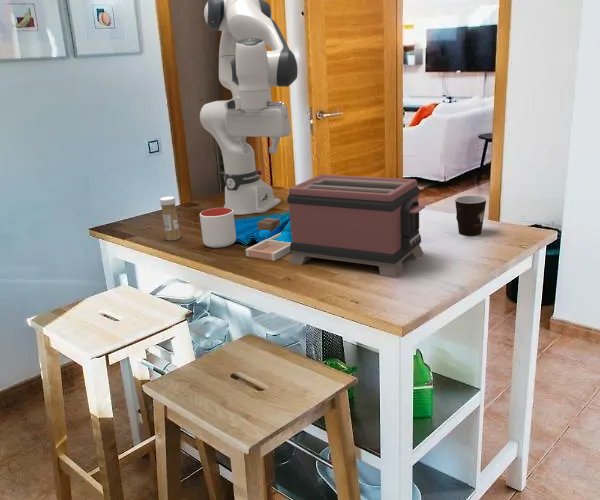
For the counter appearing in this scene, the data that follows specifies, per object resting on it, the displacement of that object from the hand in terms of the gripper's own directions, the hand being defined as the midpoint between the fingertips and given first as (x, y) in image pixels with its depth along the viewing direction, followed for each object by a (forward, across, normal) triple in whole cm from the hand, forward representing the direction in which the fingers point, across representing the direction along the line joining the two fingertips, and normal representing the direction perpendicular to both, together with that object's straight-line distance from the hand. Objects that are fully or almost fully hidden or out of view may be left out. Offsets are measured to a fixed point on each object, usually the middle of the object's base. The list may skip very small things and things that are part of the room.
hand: (259, 152), depth 167 cm
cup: (+28, +17, +2) cm, 33 cm away
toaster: (+28, -29, -3) cm, 41 cm away
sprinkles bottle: (+28, +35, +4) cm, 45 cm away
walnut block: (+28, +7, -10) cm, 30 cm away
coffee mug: (+28, -47, -33) cm, 64 cm away
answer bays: (+28, -3, -1) cm, 28 cm away
